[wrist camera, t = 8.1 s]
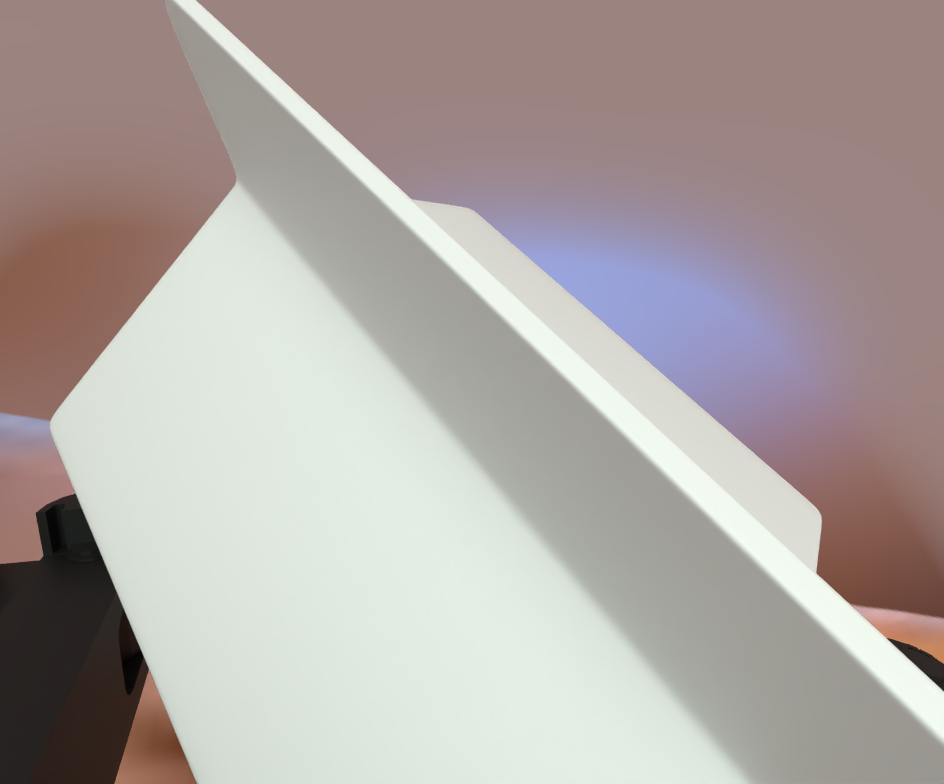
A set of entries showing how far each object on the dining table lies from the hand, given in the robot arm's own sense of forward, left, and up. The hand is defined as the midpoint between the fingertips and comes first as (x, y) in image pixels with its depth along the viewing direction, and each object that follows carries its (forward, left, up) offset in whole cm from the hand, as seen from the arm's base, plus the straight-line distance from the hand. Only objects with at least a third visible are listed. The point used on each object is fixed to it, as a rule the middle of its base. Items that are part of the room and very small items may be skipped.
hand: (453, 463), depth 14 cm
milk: (+3, -2, -10) cm, 10 cm away
